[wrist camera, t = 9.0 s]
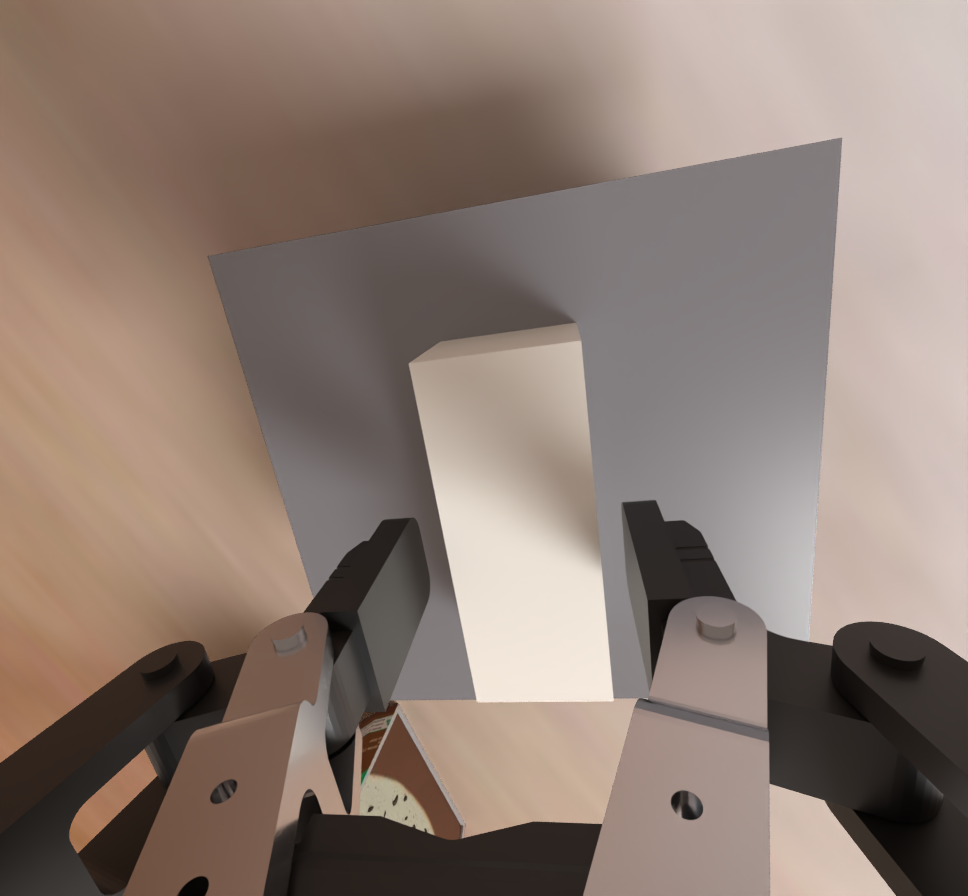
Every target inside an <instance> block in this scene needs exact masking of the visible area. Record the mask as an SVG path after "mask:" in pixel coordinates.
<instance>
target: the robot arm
mask: <svg viewBox="0 0 968 896" xmlns="http://www.w3.org/2000/svg"><path fill="white" fill-rule="evenodd" d="M621 510H622V525H623V539H624V553H625V567H626V576H627V584H628V590H629V595H630V600H631V605H632V610H633V615H634V619H635V624H636V629H637V634H638V639H639V644H640V648H641V653H642V658H643V663H644V668H645V672H646V677H647V682H648V687H649V692H650V693H649V697H648V700H647V699H643V698H639V699H638V700H637V702H636V705H635V707H634V710H633V714H632V717H631V721H630V725H629V728H628V732H627V736H626V740H625V743H624V747H623V751H622V754H621V758H620V762H619V765H618V769H617V773H616V776H615V780H614V784H613V787H612V791H611V795H610V798H609V802H608V806H607V809H606V813H605V817H604V820H603V824H584V823H556V822H530V823H526V824H521V825H517V826H513V827H509V828H504V829H500V830H496V831H492V832H487V833H483V834H479V835H475V836H471V837H466V838H462V839H457V840H448V839H444V838H441V837H438V836H435V835H432V834H430V833H427V832H424V831H421V830H418V829H416V828H413V827H410V826H407V825H404V824H402V823H399V822H396V821H393V820H390V819H388V818H385V817H382V816H365V815H360V790H361V764H362V735H361V731H360V728H359V725H358V724H359V722H360V720H361V717H362V715H363V713H364V712H386V709H387V707H388V704H389V702H390V699H391V696H392V694H393V691H394V689H395V686H396V683H397V681H398V678H399V676H400V673H401V670H402V668H403V665H404V663H405V660H406V657H407V655H408V652H409V650H410V647H411V644H412V642H413V639H414V637H415V634H416V631H417V629H418V626H419V624H420V621H421V618H422V616H423V613H424V611H425V608H426V605H427V603H428V600H429V595H430V575H429V570H428V565H427V560H426V556H425V551H424V547H423V542H422V537H421V533H420V528H419V525H418V522H417V520H416V519H415V518H414V517H411V518H398V519H385V520H383V521H382V522H381V523H380V525H379V526H378V528H377V529H376V530H375V532H374V533H373V535H372V536H371V538H370V539H369V541H362V542H361V543H360V544H358V545H357V546H356V547H354V548H353V549H352V550H350V551H349V552H347V553H346V555H345V556H344V557H343V559H342V560H341V562H340V563H339V564H338V566H337V569H335V570H334V571H333V573H332V574H331V575H330V577H329V580H328V581H326V582H325V584H324V585H323V586H322V588H321V589H320V591H319V592H318V593H317V595H316V596H315V597H314V599H313V600H312V602H311V603H310V604H309V606H308V607H307V608H306V610H305V611H304V613H298V614H293V615H290V616H287V617H284V618H282V619H280V620H278V621H276V622H274V623H272V624H270V625H269V626H267V627H266V628H265V629H263V630H262V631H261V632H260V633H259V634H258V635H257V636H256V637H255V638H254V640H253V641H252V642H251V644H250V646H249V649H248V652H247V653H244V654H241V655H237V656H233V657H229V658H225V659H221V660H217V661H213V662H210V661H209V658H208V656H207V653H206V651H205V648H204V647H203V645H202V644H200V643H198V642H195V641H183V642H178V643H174V644H170V645H167V646H165V647H162V648H160V649H157V650H155V651H153V652H152V653H150V654H148V655H146V656H145V657H143V658H141V659H140V660H139V661H137V662H136V663H134V664H133V665H132V666H130V667H129V668H128V669H126V670H125V671H124V672H122V673H121V674H120V675H118V676H117V677H115V678H114V679H113V680H111V681H110V682H109V683H107V684H106V685H105V686H103V687H102V688H101V689H99V690H98V691H97V692H95V693H94V694H93V695H91V696H90V697H89V698H87V699H86V700H85V701H83V702H82V703H80V704H79V705H78V706H76V707H75V708H74V709H72V710H71V711H70V712H68V713H67V714H66V715H64V716H63V717H62V718H60V719H59V720H58V721H56V722H55V723H54V724H52V725H51V726H50V727H48V728H47V729H45V730H44V731H43V732H41V733H40V734H39V735H37V736H36V737H35V738H33V739H32V740H31V741H29V742H28V743H27V744H25V745H24V746H23V747H21V748H20V749H19V750H17V751H16V752H15V753H13V754H12V755H11V756H9V757H8V758H6V759H5V760H4V761H2V762H1V763H0V896H770V788H769V784H773V785H776V786H779V787H783V788H786V789H789V790H792V791H796V792H799V793H802V794H806V795H809V796H812V797H815V798H819V799H822V800H825V802H826V804H827V806H828V807H829V809H830V810H831V812H832V813H833V814H834V816H835V817H836V818H837V820H838V821H839V822H840V823H841V825H842V826H843V827H844V829H845V830H846V831H847V832H848V834H849V835H850V836H851V838H852V839H853V840H854V842H855V843H856V844H857V845H858V847H859V848H860V849H861V851H862V852H863V853H864V855H865V856H866V857H867V858H868V860H869V861H870V862H871V864H872V865H873V866H874V867H875V869H876V870H877V871H878V873H879V874H880V875H881V877H882V878H883V879H884V880H885V882H886V883H887V884H888V886H889V887H890V888H891V890H892V891H893V892H894V893H895V895H896V896H968V662H967V661H966V660H964V659H963V658H961V657H960V656H958V655H957V654H956V653H954V652H953V651H951V650H950V649H948V648H947V647H946V646H944V645H943V644H941V643H939V642H938V641H936V640H935V639H933V638H931V637H929V636H927V635H925V634H922V633H920V632H917V631H915V630H912V629H909V628H906V627H903V626H899V625H895V624H889V623H883V622H858V623H853V624H849V625H846V626H844V627H843V628H841V629H840V630H839V631H837V633H836V634H835V636H834V640H833V646H830V645H824V644H819V643H813V642H808V641H802V640H797V639H792V638H788V637H785V636H781V635H778V634H776V633H773V632H771V631H768V630H767V629H766V625H765V623H764V621H763V620H762V619H761V617H760V616H759V615H758V614H757V613H756V612H755V611H753V610H752V609H750V608H749V607H747V606H745V605H743V604H741V603H739V602H737V601H736V599H735V597H734V595H733V593H732V592H731V590H730V588H729V586H728V584H727V582H726V580H725V578H724V576H723V574H722V572H721V570H720V568H719V566H718V564H717V562H716V561H714V557H713V555H712V553H711V551H710V549H708V545H707V543H706V541H705V539H704V537H703V535H702V533H701V532H700V531H699V530H698V529H696V528H695V527H693V526H692V525H690V524H689V523H687V522H686V521H685V520H678V521H664V519H663V516H662V514H661V511H660V509H659V506H658V504H657V501H656V500H646V501H632V502H622V504H621ZM143 749H145V751H146V753H147V755H148V757H149V759H150V761H151V763H152V765H153V767H154V769H155V771H156V773H157V775H158V776H157V777H156V778H155V779H154V780H153V781H152V782H151V783H150V784H149V785H148V786H147V787H146V788H145V789H143V790H142V791H141V792H140V793H139V794H138V795H137V796H136V797H135V798H134V799H133V800H132V801H131V802H130V803H129V804H128V805H127V806H126V807H125V808H124V809H123V810H122V811H121V812H120V813H119V814H118V815H117V816H116V817H115V818H114V819H113V820H112V821H111V822H110V823H109V824H108V825H107V826H106V827H105V828H104V829H103V830H101V831H100V832H99V833H98V834H97V835H96V836H95V837H94V838H93V839H92V840H91V841H90V842H89V843H88V844H87V845H86V846H85V847H84V848H83V849H82V850H81V851H80V852H79V853H78V854H77V852H76V851H75V849H74V847H73V846H72V844H71V842H70V839H69V830H70V826H71V823H72V821H73V819H74V817H75V815H76V813H77V812H78V810H79V809H80V808H81V806H82V805H83V804H84V803H85V802H86V801H87V800H88V799H89V798H90V797H91V796H92V795H94V794H95V793H96V792H97V791H98V790H99V789H100V788H101V787H102V786H104V785H105V784H106V783H107V782H108V781H109V780H110V779H111V778H112V777H113V776H115V775H116V774H117V773H118V772H119V771H120V770H121V769H122V768H123V767H124V766H126V765H127V764H128V763H129V762H130V761H131V760H132V759H133V758H134V757H136V756H137V755H138V754H139V753H140V752H141V751H142V750H143Z"/></svg>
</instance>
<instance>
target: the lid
mask: <svg viewBox="0 0 968 896" xmlns="http://www.w3.org/2000/svg"><path fill="white" fill-rule="evenodd" d="M841 147H842V138H838V139H832V140H827V141H822V142H816V143H811V144H806V145H800V146H795V147H790V148H784V149H779V150H774V151H768V152H763V153H757V154H752V155H747V156H741V157H736V158H731V159H725V160H720V161H715V162H709V163H704V164H699V165H693V166H688V167H682V168H677V169H672V170H666V171H661V172H656V173H650V174H645V175H640V176H634V177H629V178H624V179H618V180H613V181H608V182H602V183H597V184H591V185H586V186H581V187H575V188H570V189H565V190H559V191H554V192H549V193H543V194H538V195H533V196H527V197H522V198H516V199H511V200H506V201H500V202H495V203H490V204H484V205H479V206H474V207H468V208H463V209H458V210H452V211H447V212H442V213H436V214H431V215H425V216H420V217H415V218H409V219H404V220H399V221H393V222H388V223H383V224H377V225H372V226H367V227H361V228H356V229H351V230H345V231H340V232H334V233H329V234H324V235H318V236H313V237H308V238H302V239H297V240H292V241H286V242H281V243H276V244H270V245H265V246H259V247H254V248H249V249H243V250H238V251H233V252H227V253H222V254H217V255H211V256H208V259H209V262H210V265H211V269H212V272H213V275H214V278H215V282H216V285H217V288H218V291H219V294H220V298H221V301H222V304H223V307H224V311H225V314H226V317H227V320H228V324H229V327H230V330H231V333H232V336H233V340H234V343H235V346H236V349H237V353H238V356H239V359H240V362H241V366H242V369H243V372H244V375H245V378H246V382H247V385H248V388H249V391H250V395H251V398H252V401H253V404H254V408H255V411H256V414H257V417H258V420H259V424H260V427H261V430H262V433H263V437H264V440H265V443H266V446H267V450H268V453H269V456H270V459H271V462H272V466H273V469H274V472H275V475H276V479H277V482H278V485H279V488H280V492H281V495H282V498H283V501H284V504H285V508H286V511H287V514H288V517H289V521H290V524H291V527H292V530H293V534H294V537H295V540H296V543H297V546H298V550H299V553H300V556H301V559H302V563H303V566H304V569H305V572H306V576H307V579H308V582H309V585H310V588H311V592H312V595H313V598H314V597H315V596H316V595H317V593H318V592H319V591H320V589H321V588H322V586H323V585H324V584H325V582H326V581H328V580H329V577H330V575H331V574H332V573H333V571H334V570H335V569H337V566H338V564H339V563H340V562H341V560H342V559H343V557H344V556H345V555H346V553H347V552H349V551H350V550H352V549H353V548H354V547H356V546H357V545H358V544H360V543H361V542H362V541H369V539H370V538H371V536H372V535H373V533H374V532H375V530H376V529H377V528H378V526H379V525H380V523H381V522H382V521H383V520H385V519H398V518H411V517H414V518H415V519H416V520H417V522H418V525H419V528H420V533H421V537H422V542H423V547H424V551H425V556H426V560H427V565H428V570H429V575H430V595H429V600H428V603H427V605H426V608H425V611H424V613H423V616H422V618H421V621H420V624H419V626H418V629H417V631H416V634H415V637H414V639H413V642H412V644H411V647H410V650H409V652H408V655H407V657H406V660H405V663H404V665H403V668H402V670H401V673H400V676H399V678H398V681H397V683H396V686H395V689H394V691H393V694H392V696H391V699H390V700H477V702H584V701H614V698H648V697H649V693H650V692H649V687H648V682H647V677H646V672H645V668H644V663H643V658H642V653H641V648H640V644H639V639H638V634H637V629H636V624H635V619H634V615H633V610H632V605H631V600H630V595H629V590H628V584H627V576H626V567H625V553H624V539H623V525H622V510H621V504H622V502H632V501H646V500H656V501H657V504H658V506H659V509H660V511H661V514H662V516H663V519H664V521H678V520H685V521H686V522H687V523H689V524H690V525H692V526H693V527H695V528H696V529H698V530H699V531H700V532H701V533H702V535H703V537H704V539H705V541H706V543H707V545H708V549H710V551H711V553H712V555H713V557H714V561H716V562H717V564H718V566H719V568H720V570H721V572H722V574H723V576H724V578H725V580H726V582H727V584H728V586H729V588H730V590H731V592H732V593H733V595H734V597H735V599H736V601H737V602H739V603H741V604H743V605H745V606H747V607H749V608H750V609H752V610H753V611H755V612H756V613H757V614H758V615H759V616H760V617H761V619H762V620H763V621H764V623H765V625H766V629H767V630H768V631H771V632H773V633H776V634H778V635H781V636H785V637H788V638H792V639H797V640H802V641H808V642H809V633H810V618H811V602H812V587H813V572H814V557H815V542H816V527H817V511H818V496H819V481H820V466H821V451H822V435H823V420H824V405H825V390H826V375H827V359H828V344H829V329H830V314H831V299H832V283H833V268H834V253H835V238H836V223H837V207H838V192H839V177H840V162H841Z"/></svg>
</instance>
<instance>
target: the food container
mask: <svg viewBox="0 0 968 896" xmlns="http://www.w3.org/2000/svg"><path fill="white" fill-rule="evenodd" d="M359 728H360V731H361V735H362V764H361V790H360V815H365V816H382V817H385V818H388V819H390V820H393V821H396V822H399V823H402V824H404V825H407V826H410V827H413V828H416V829H418V830H421V831H424V832H427V833H430V834H432V835H435V836H438V837H441V838H444V839H448V840H457V839H462V838H464V832H465V822H464V820H463V819H462V817H461V815H460V813H459V811H458V810H457V808H456V806H455V804H454V802H453V801H452V799H451V797H450V795H449V793H448V792H447V790H446V788H445V786H444V784H443V783H442V781H441V779H440V777H439V776H438V774H437V772H436V770H435V768H434V767H433V765H432V763H431V761H430V759H429V758H428V756H427V754H426V752H425V750H424V749H423V747H422V745H421V743H420V741H419V740H418V738H417V736H416V734H415V732H414V731H413V729H412V727H411V725H410V723H409V722H408V720H407V718H406V716H405V714H404V713H403V711H402V709H401V707H400V706H399V704H396V705H392V706H389V707H387V709H386V712H375V713H374V714H372V715H371V716H369V717H368V718H366V719H365V720H363V721H362V722H361V724H360V725H359Z"/></svg>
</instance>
